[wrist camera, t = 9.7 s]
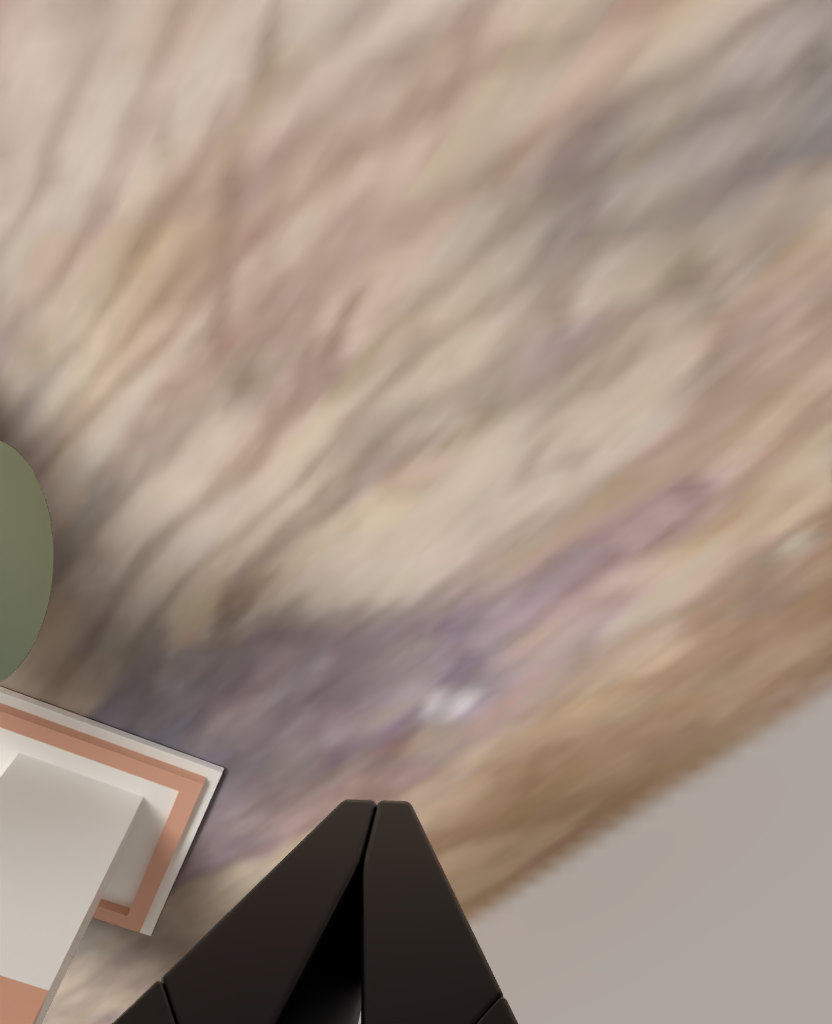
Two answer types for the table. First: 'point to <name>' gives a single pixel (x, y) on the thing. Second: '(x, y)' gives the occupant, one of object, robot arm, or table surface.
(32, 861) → the white orange-topped block
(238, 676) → the table surface
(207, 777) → the white flat square plate
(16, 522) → the button
